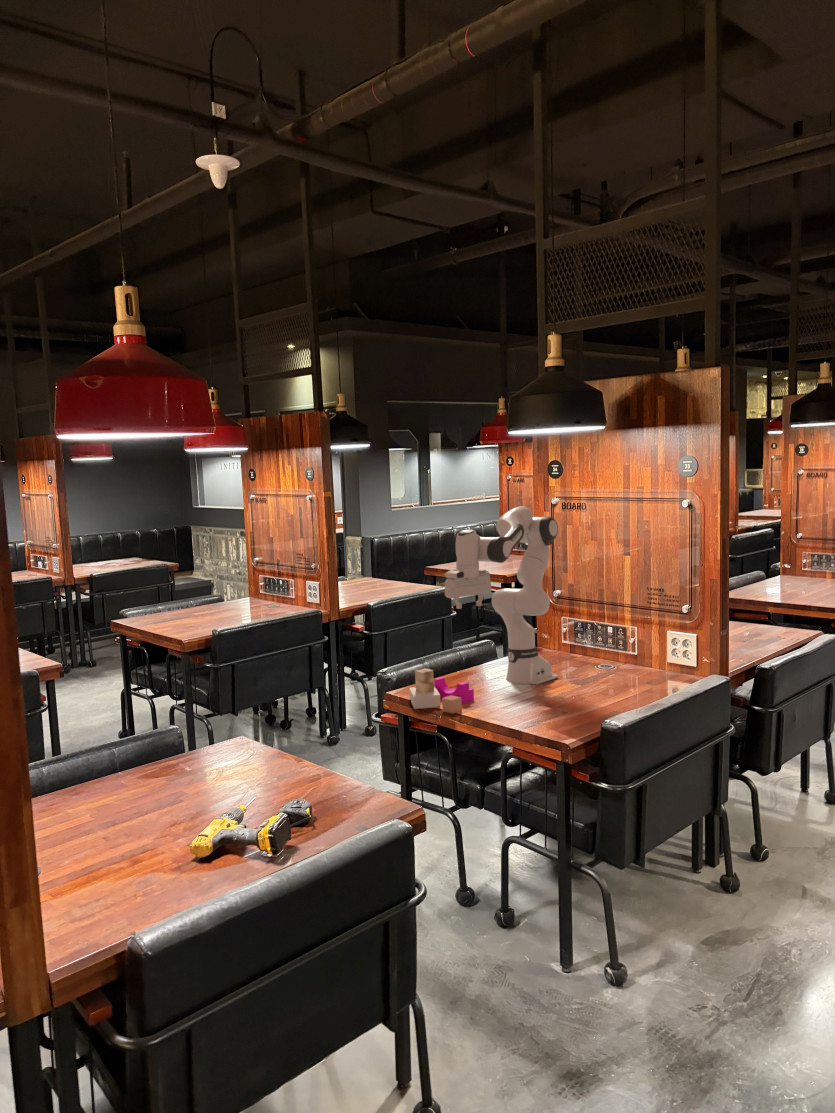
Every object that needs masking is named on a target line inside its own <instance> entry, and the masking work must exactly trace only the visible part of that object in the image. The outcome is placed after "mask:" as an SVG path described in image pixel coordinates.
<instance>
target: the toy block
mask: <svg viewBox="0 0 835 1113" xmlns="http://www.w3.org/2000/svg"><path fill="white" fill-rule="evenodd" d="M434 686H435V687H436V689H437V691H438V692H439V694H440V698H444V697H447V696H450V695H452V696H457V697H461V704H466V703H469V702H472V701H475V691H474V690H475V689H474V688H471V687H470V682H468V681H467V682H466V681H462V682H458V683H456V687H451V688H450V687H449V686H448V685H447V682H446V679H445V677H444V676H443V677H441V676H440V677H436V678H434Z"/></svg>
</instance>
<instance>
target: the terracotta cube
mask: <svg viewBox="0 0 835 1113" xmlns="http://www.w3.org/2000/svg"><path fill="white" fill-rule="evenodd" d="M441 702H442V703H441V705H442V706H441V708H442V712H444V713H449V714H455V713H458V712H462V711H463V710H462V709H463V707H462V704H463V703H461V697H457V696H452V695H450V696H447V697H444V698H442V699H441Z"/></svg>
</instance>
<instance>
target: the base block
mask: <svg viewBox="0 0 835 1113" xmlns="http://www.w3.org/2000/svg"><path fill="white" fill-rule="evenodd" d="M408 690H409V691H408V692H409V694H408V695H409V701H410V700H411V701H410V702H411V705H412V707H413V709H414V710H417V709H429V708H438V707H437V706H441V705H442V703H441V699H440V694H439V692H438V691H437V689H436V687H435V686H434V691H432V692H428V693H421V692H417V691H416V686H415V687H414V686H413V687H409V688H408ZM441 707H442V706H441Z"/></svg>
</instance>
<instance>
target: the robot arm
mask: <svg viewBox="0 0 835 1113" xmlns="http://www.w3.org/2000/svg"><path fill="white" fill-rule="evenodd" d="M496 531H497V533H498V535H499V536H486V537H485V536H480V535H479V534H478V533H477V531H476V530H475V529H470V528H469V529H463V530H460V531H459V532H457V534H456V538H455V555H456V564H455V567H454V568H452V569H450V570H448V571H446V572H445V578H446V580H445V581H444V596H445V597H446V598H448V599H453V602H454V603H455V606H456V607H455V608H456V609H458V610H462V608H463V604H462V603H460V598H464V597H471V596H477V597H478V598H477V600H476V601H475V606H476V607H481V606H482V601H483V600H484V597H485V594H486V595H487V594H491V592H492V584H491V576H490V574H491V573H490V572H489V570H487V569H483V570H482V569H481V570H480V562H491V563H492V562H493V563H498V564H499V563H500V564H501V563H503V564H504V563H505V562H506V561H507V560H508V559H509V557H510V556H511V554H512V552H513V550H514V549H515V548H516V546H518V544H527V549H526V550H525V552H524V554H523V556H522V558H521V561H520V563H519V566H518V569H517V572H516V578H517V580H518V582H519V583H520V584H521V585H522V586H523V587H522V588H512V587H511V588H510V587H509V588H508V587H507V588H506V587H505V588H501V589H497V590H495V591H494V592H493V595H492V597H491V605H492V607H493V609H494V611H495V612H496V613H497V614H498V615H500V617H501V618H502V620H503V622H504V624H505V626H506V631H507V638H508V639H507V640H508V641H507V642H508V647H507V660H508V664H507V672H506V678H505V681H506V680H507V682H508V683H510V682H511V683H510V684H517V685H540V684H542V683H545V682H548V681H552V680H555V679H557V678H558V674H556V673H554V672H553V671H552V670H553V669H552V666H551V664H550V662H549V661H548V660H546V659H545V658H543V657H542V656H541V655H540V654H539V653H542V652H543V651H544V648H543V647H540V646H536V643H535V642H536V639H535V638H536V635H535V629H534V627H533V626H532V625H531V624H529V623H528V622H527V621H526V619H525V618H524V616H529V617H530V616H531V617H532V616H533V617H534V616H542V615H545V614H546V613H547V612H548V611H549V608H550V605H551V604H550V603H551V601H550V597H549V595H548V593H547V592H546V591H545V590H544V589H543V579H544V576H545V572H546V571H547V570H546V569H547V568H548V567H547V566H548V564H549V559H550V554H551V553H550V552H551V550H550V547H549V546H550V545H552V544H553V543H554V541H555V539H556V537H557V536H558V533H559V526H558V522H557V520H556V519H555V518H554V517H552V516H547V515H546V516H534V515H533V512H532V511H531V509H530V508H529V507H527V506H526V505H525V506H523V505H520V506H516V507H514V508H512V509H510V510H508V511H506V512H505V513H504V514H503V515H501V516H500V517H499V518H498V520H497V521H496Z"/></svg>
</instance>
